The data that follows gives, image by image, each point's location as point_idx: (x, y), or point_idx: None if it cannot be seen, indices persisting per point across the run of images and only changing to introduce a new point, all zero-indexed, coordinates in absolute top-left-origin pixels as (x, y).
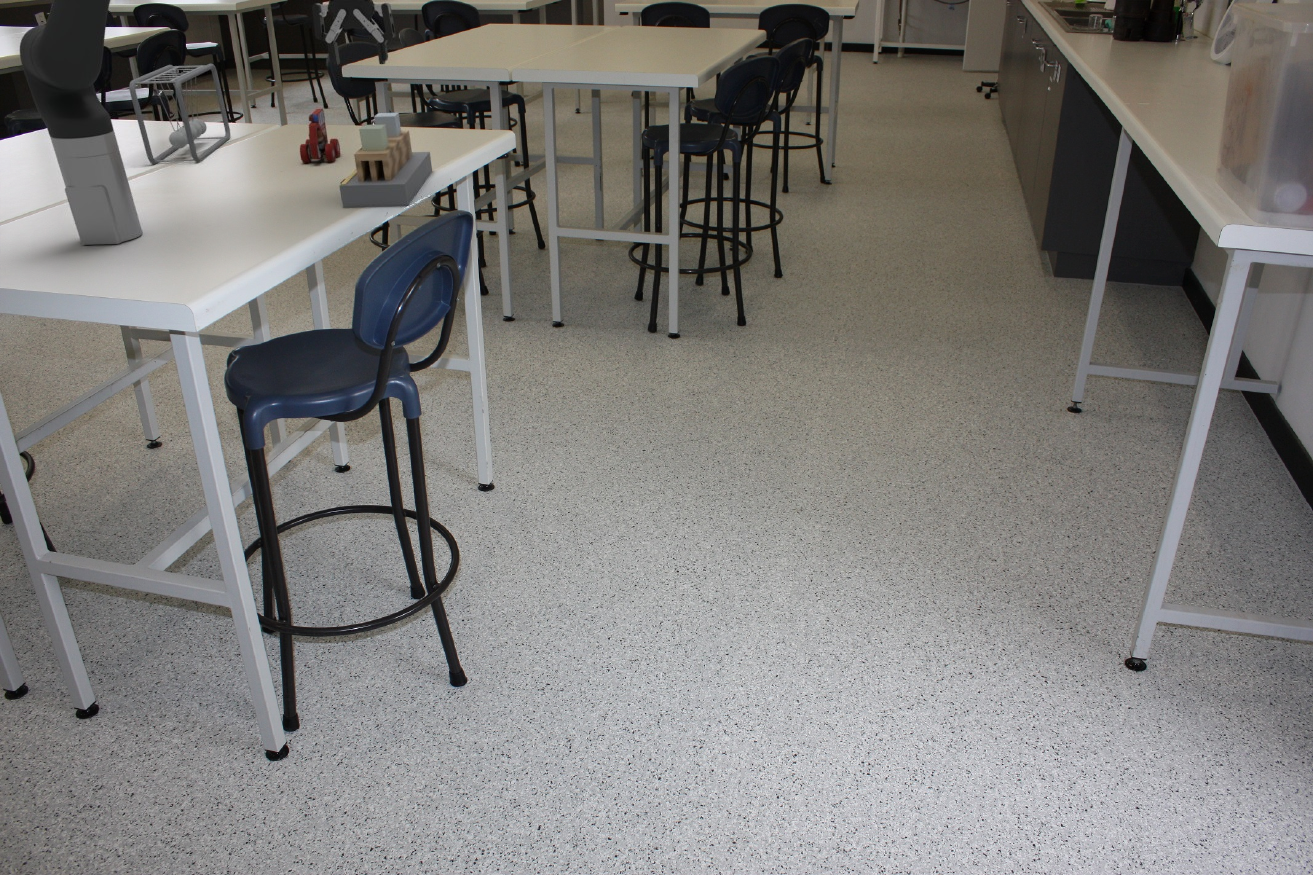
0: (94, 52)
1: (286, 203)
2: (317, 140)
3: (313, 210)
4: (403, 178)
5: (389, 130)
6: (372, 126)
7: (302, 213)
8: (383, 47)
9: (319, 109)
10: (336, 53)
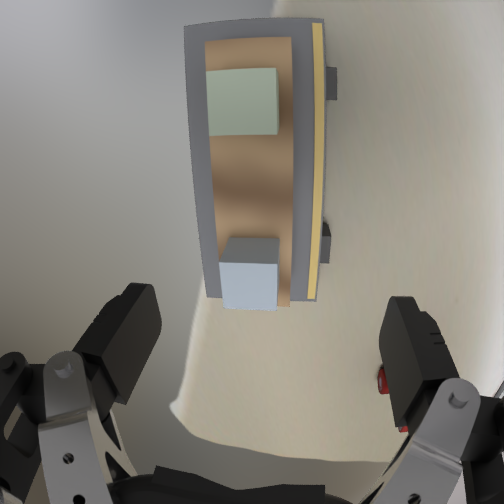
0: None
1: (431, 80)
2: None
3: (369, 20)
4: (196, 69)
5: (244, 245)
6: (242, 107)
7: (382, 6)
8: (86, 341)
9: (405, 428)
10: (400, 349)
